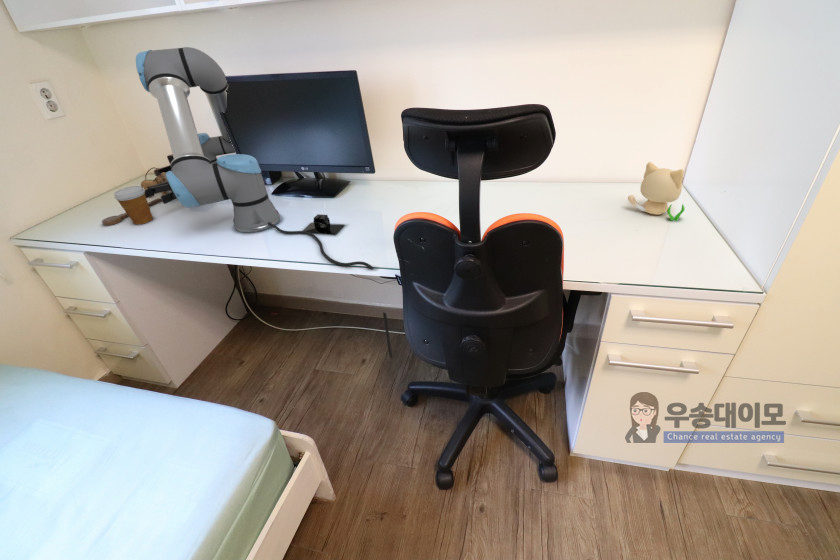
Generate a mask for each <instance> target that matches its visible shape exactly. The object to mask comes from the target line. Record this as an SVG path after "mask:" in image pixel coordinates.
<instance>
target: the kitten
mask: <svg viewBox="0 0 840 560" xmlns="http://www.w3.org/2000/svg"><path fill="white" fill-rule="evenodd" d="M684 172H685V171H684V169H683V168H680V169H677V170H673V169H670V168H659V167H658V166H657V165H655V164H654V163H653V162H652V161H648V162H647V163H646V165H645V171H644V173H643V179H642V181H641V183H640V186H639V187H640V194H641V195H642V197H644V198H645V199H646V200H645V202H643V204H640V203H638V202H637V200H636V198H635V196H634V195H633V194H630V195H629V194H628V196H627V201H628V202H629V203H630V204H631V205H632V206H633V207H635V208H636V209H637V210H639V211H642V212H645V213H647V214H650V215H663V214H665V213H666V214H667V215H668V219H669V221H676V222H678V220H679V219H680V217H681V215H682V214H683V213H684V212H685V210H686V208H685V206H684V204H683V203H682V204H681V210H680V211H679V212H678V213H676V215H675V216H673V215H672V213H671V208H672V205H673V204H672V203H673V202H675V201H677V200H678V199H680V197H681V194H682V190H683V184H682V183H683V178H684ZM669 203H671V204H670V205H669Z"/></svg>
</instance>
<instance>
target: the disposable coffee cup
mask: <svg viewBox="0 0 840 560" xmlns="http://www.w3.org/2000/svg"><path fill="white" fill-rule="evenodd" d="M113 195H114V196H113V198H114V199H115V200H116V201H117V202H118V203H119V205H120V206H121V207H122V209H123V210H124V213H127V214H128V218H129V219H130V220H131V222H132V223H133V224H134V225H136V226H137V225H144V224H147V223H150V222H152V220H154V217H153V214H152V211H151V208H150V206H149V205H148V202H149V201H148V198H146V196H145V190H144V188H142V187H141V185H132V186H127V187H124V188H121V189H118V190H115V191H114V193H113Z"/></svg>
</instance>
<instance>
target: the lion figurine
mask: <svg viewBox="0 0 840 560" xmlns="http://www.w3.org/2000/svg"><path fill="white" fill-rule="evenodd" d="M167 181H168V180H167V177H166V172H160V173H159V174H158V175H157V176H156V177H154V179H153V180H147V179H145V180H142V181H141V182H140V186H141V187H142V188H143V189H144V190H147V189H148V188H147V187H148V186H153V185H156V184H160V183H164V182H167ZM161 193H162V196H164V195H166V194H168V193H169V191H165V192H161ZM152 197H153V196H150V197H149V198H152Z"/></svg>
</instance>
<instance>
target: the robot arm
mask: <svg viewBox="0 0 840 560" xmlns="http://www.w3.org/2000/svg"><path fill="white" fill-rule="evenodd" d="M135 66H136V67H135V68H136V71H137V75H138V78H139V81H140V84H141V85H142V87H143V89H144V90H145V91H146V92H147V93H150V95H151V96H152V97H154V98H155V99H156V100H157V103H158V107H159V111H160V114H161V118H162V122H163V125H164V129H165V132H166V136H167V139H168V143H169V147H170V150H171V154H172V157H173V159H172V160H171V162H170V164H169V166H170V170H168V171H167V172H165V173H166V177H167V180H168V181H167V182H164V183H160V184H156V185H153V186H148V187H147V188H148V189H147V190H145V196H146V199H148V198H151V197H150V196H152V197H154V196H155V195H156V194H159V193H160V194H161V193H162V192H165V191H166V192H168V193H167V194H166V195H161V196H160V198H161V199H162V201H161V202H162V203H163V204H165V205H166V204H168V203H170V202H172V201H175V200H176V199H177V201H178V202H179V203H180V205H182V206H183V207H184V208H195V207H201V206H206V205H210V204H214V203H219V202H223V201H224V202H225V201H229V200H230V201H231V203H232V207H233V219H232V222H233V226H234V228H235V231H237V232H240V233H243V234H250V233H258V232H262V231H266V230H268V229H271V228H273V229H275V230H276V231H278V232H279V233H281V234H286V235H298V234H300V235H301V234H304V235H307V236H311V237H312V238H313V239H314V240H315V241H316V242H317V244H318V246H319V250H320V253H321V254H322V255H323V256H324V258H325V259H327V260H328V261H329V262H331V263H332V264H334V265H337V266H339V267H340V266H342V267H351V266H356V265H357V266H358V265H360V266H365V267H367V268H368V269H369V270H375V268H374V267H373V266H372V265H371V264H369V263H368V262H365V261H359V260H357V261H349V262H342V261H341V262H340V261H338V260H335V259H333V258H332V257H330V256H329V255H328V254H327V253H326V252H325V250H324V246H323V243H322V241H321V240H320V239H319V237H318V236H317V235H316V234H312V233H310V232H307V231H303V230H284V229H281V228H279V227H278V226H277V225H278V224H279V223H280V222H281V215H280V212H279V210H277V208H276V206H275V205H274V203H273V202H272V201H271V199H270V197H269V194H268V191H267V188H266V184H265V181H264V178H263V174H262V169H261V168H260V164H259V161H258V160H257V159H256V158H255V156H252V155H250V154H244V153H243V154H242V153H235V150H234V148H233V146H232V143H231V141H230V138H229V135H228V133H227V130H226V128H225V125H224V122H223V120H222V118H221V115H220V112H221V113H222V112H223V113H225V111H226V108H227V92H226V90H227V91H228V88H229V82H228V79H227V80H226V78H227V76H226V74H225V72H224V71H223V68H222V67H221V66H220V65H219V64H218V62H216V60H214V59H213V58H212V57H211V56H210V55H209V54H207V53H205V52H204V51H202V50H200V49H199V48H195V47H190V46H183V47H176V48H175V47H174V48H163V49H153V50H152V49H148V50H145V51H140V52H138V53H137V54H136V55H135ZM225 77H226V78H225ZM227 82H228V83H227ZM197 87H199V89H200V90H201V92H203V93H204V94H205V96H206V99H207V101H208V104H209V107H210V109H211V112H212V114H213V118H214V120H215V122H216V125H217V127H218V130H219V132H220V135H218V136H209V134H208V133H207V132H199V133H198V131H197V128H196V123H195V120H194V115H193V114H192V110H191V107H190V102H189V100H188V99H189V98H188V97H189V96H190V94H191V90H190V89H191V88H197ZM218 156H219V157H218ZM169 191H170V192H169ZM382 316H383V323H384V329H385V337H386V343H387V350H388V355H389V358H390V359H392V358H393V353H392V346H391V340H390V331H389V324H388V318H387V313H386V312H382Z"/></svg>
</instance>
